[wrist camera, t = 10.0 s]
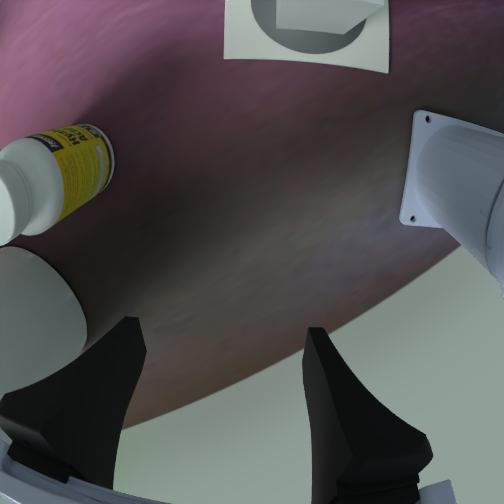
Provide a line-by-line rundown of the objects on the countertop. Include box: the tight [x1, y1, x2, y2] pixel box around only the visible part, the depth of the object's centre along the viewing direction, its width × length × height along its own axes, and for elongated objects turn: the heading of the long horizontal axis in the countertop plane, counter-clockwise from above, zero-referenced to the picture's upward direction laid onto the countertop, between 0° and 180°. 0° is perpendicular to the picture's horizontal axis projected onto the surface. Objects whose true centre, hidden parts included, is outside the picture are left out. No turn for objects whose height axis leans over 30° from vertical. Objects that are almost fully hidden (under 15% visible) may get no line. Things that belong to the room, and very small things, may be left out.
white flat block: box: [224, 0, 389, 73], centre depth 14 cm, size 10×8×1 cm
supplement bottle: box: [0, 124, 114, 246], centre depth 15 cm, size 5×5×10 cm
